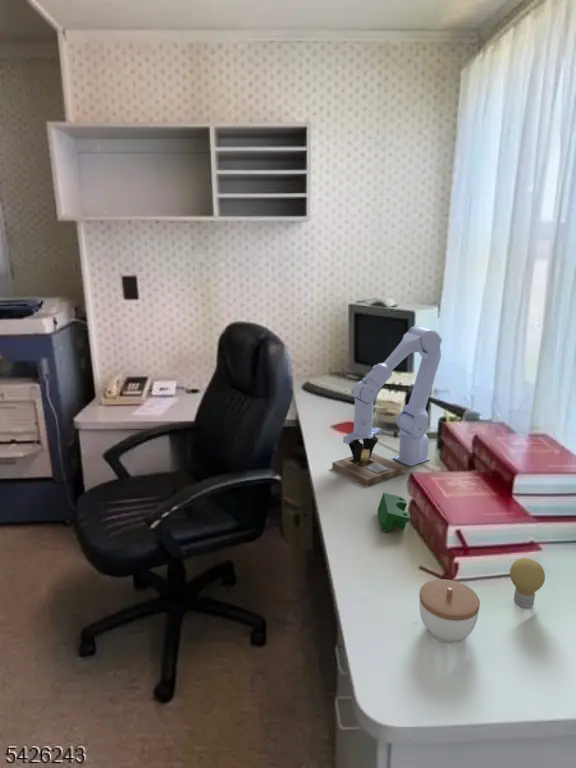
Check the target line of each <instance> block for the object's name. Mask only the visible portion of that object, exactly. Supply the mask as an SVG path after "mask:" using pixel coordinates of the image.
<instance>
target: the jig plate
mask: <svg viewBox="0 0 576 768" xmlns="http://www.w3.org/2000/svg"><path fill="white" fill-rule="evenodd" d="M331 465H332V466H331V468H332V469H333V470H335V471H336V472H337V471H338V472H339V473H341V474H343V475H344V476H347V477H349V478H350V477H351V479H352V478H353V480H354V479H355V481H356V480H357V482H359V483H360V484H362V485H364V486H366V487H369V486H372V485H374V484H377V483H380V482H382V481H386V480H388V479H391V478H394V477H396V476H399V475H403V474H405V472H406V471H405V468H406V467H405V466H404V465H402V464H399V463H396V462H394V461H392V460H390V459H387V458H386V457H383V456H381V455H379V454H376V453H374V452H372V454H371V457H370V459H369V465H366V466H363V467H360V466H358V465H356V462H355V461H354V460H353V455H352V456H349V457H346V458H343V459H339V460H335V461H332V463H331Z"/></svg>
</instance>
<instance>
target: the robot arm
mask: <svg viewBox="0 0 576 768" xmlns="http://www.w3.org/2000/svg"><path fill="white" fill-rule="evenodd" d="M442 340H443V338H441V336H440V335H439V333H438V332H437V330H433V329H429V328H425V327H422V326H420V325H414V326H412V327H410V328H409V330H407V332H405V334H403V336H402V339H401V341H400V343H398V345H397V346H396V347H395V349H394V350H393V351H392V352H391V353H390V355H389V356H388V357H387V358H386V359H385V361H384V362H380V363H377V364H374V365H373V366H372V369H371V371H369V372H368V374H366V376H363V378H362V379H361V380H360V381H357V382H356V383H355V384H354V386H353V388H352V389H351V394H352V397H354V411H353V415H354V416H353V418H354V419H353V431H352V432H351V433H348V434H347V435H345V436H343V437H342V438H343V443H344V444H346V445H348V447H349V449H350V452H351V454H352V456H353V460H354V461H355V462H357V463H359V462H360V455H361V450H362V447H363V446H367V447H369V448H370V453H369V459H370V457H371V454H372V453H373V450H374V448H375V446H376V445H377V443H378V442H379V438H378V437H376V436H381V435H382V428H380V427H373V420H374V418H373V415H374V414H373V413H374V401H375V400H376V399H377V397H378V395H379V392H380V389H381V388H382V387H383V386H384V385H385V384H386V383H387V381H389V380H390V379H391V378H392V376H393V370H394V369H395V368H396V367H397V366H398V365H399V364H400V363H401V362H402V361H403V360H405V359H406V358H407V356H409V355H410V354H411V353H412V354H413V353H418V354H419V355H420V356H421V360H420V365H419V367H418V371H417V374H416V377H415V381H414V384H413V386H412V387H413V388H412V391H411V394H410V397H409V401H408V404H406V405H404V406H403V407H402V410H401V412H400V414H399V415H398V416H397V418H396V425H397V428H399V449H398V455H395V456H393V457H392V459H394V460H396V461H398V462H399V463H402V464H404V465H407V466H408V467H413V466H416V465H419V464H422V463H424V462H427V461H429V460H430V459H431V458H430V457H429V447H430V446H429V445H430V440H429V437H428V436H427V431H428V429H429V427H428V421H429V415H428V413H427V410H426V408H427V404H428V402H429V401H428V400H429V397H430V395H431V390H432V388H433V385H434V380H435V377H436V374H437V371H438V367H439V364H440V362H441V361H440V360H441V357H442V354H441V353H442V352H441V343H442ZM361 440H362V443H361ZM421 462H422V463H421Z"/></svg>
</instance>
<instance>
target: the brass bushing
mask: <svg viewBox="0 0 576 768" xmlns="http://www.w3.org/2000/svg"><path fill="white" fill-rule="evenodd" d="M369 453H370V448H369V447H367V446H364V445H363V447H362V450H361V455H360V462H359V463H357V462H356V465H358V466H360V467H363V466H366V465H369Z"/></svg>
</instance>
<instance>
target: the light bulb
mask: <svg viewBox="0 0 576 768" xmlns="http://www.w3.org/2000/svg"><path fill="white" fill-rule="evenodd" d="M509 570H510V571H509V576H510V579H511V582H512V585H514V587H515V588H514V595H513V602H514V604H515V605H516V606H518V607H520V608H521V609H526V610H528V609H531V608H533V607H534V605H535V597H536V593H535V592H537V591H539V590H540V589H541V588H542V587H543V585H544V583H545V580H546V574H545V570H544V568H543V566H542V565H541V564H540V563H539V562H538V561H536V560H534V559H532V558H530V557H529V558H527V557H520V558H518V559H516V560H515V561H514V562H512V565H511V566H510V569H509Z"/></svg>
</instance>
